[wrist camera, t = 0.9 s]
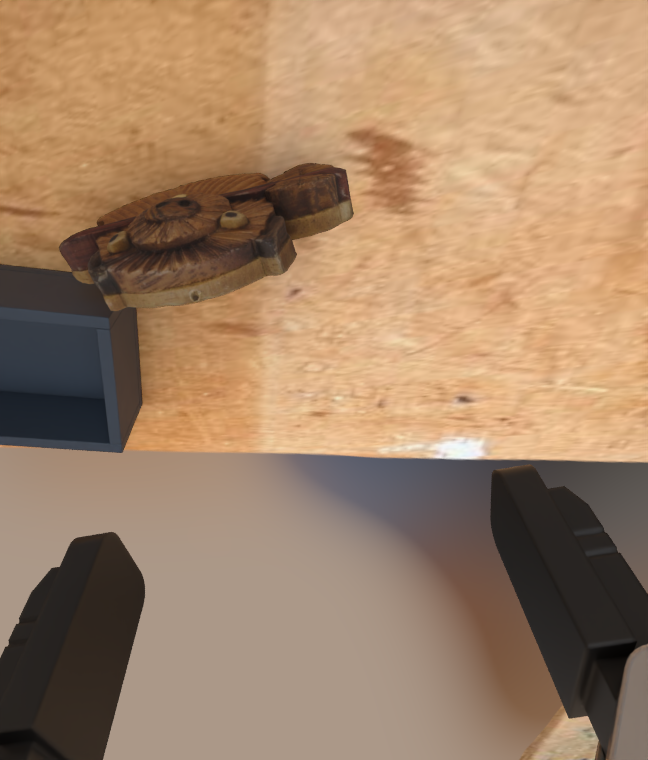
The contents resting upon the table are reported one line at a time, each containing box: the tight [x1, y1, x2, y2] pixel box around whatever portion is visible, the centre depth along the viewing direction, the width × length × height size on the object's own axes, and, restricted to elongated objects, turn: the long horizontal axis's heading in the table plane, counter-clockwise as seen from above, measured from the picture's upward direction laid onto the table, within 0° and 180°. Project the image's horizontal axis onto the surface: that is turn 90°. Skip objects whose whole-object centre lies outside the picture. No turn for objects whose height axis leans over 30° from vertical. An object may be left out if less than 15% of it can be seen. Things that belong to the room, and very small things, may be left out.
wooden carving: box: [59, 163, 354, 311], centre depth 27 cm, size 16×5×10 cm, turn 107°
